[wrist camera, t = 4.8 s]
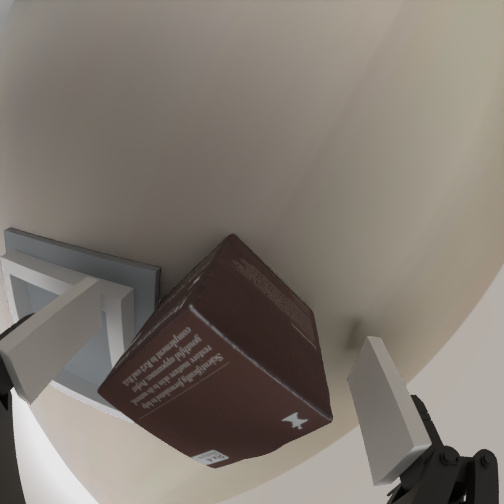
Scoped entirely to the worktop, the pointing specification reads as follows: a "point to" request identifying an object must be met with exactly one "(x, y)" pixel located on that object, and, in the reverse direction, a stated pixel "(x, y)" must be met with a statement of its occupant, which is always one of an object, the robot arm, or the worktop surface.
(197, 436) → the box
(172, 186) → the worktop surface
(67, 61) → the worktop surface
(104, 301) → the grey and white frame
